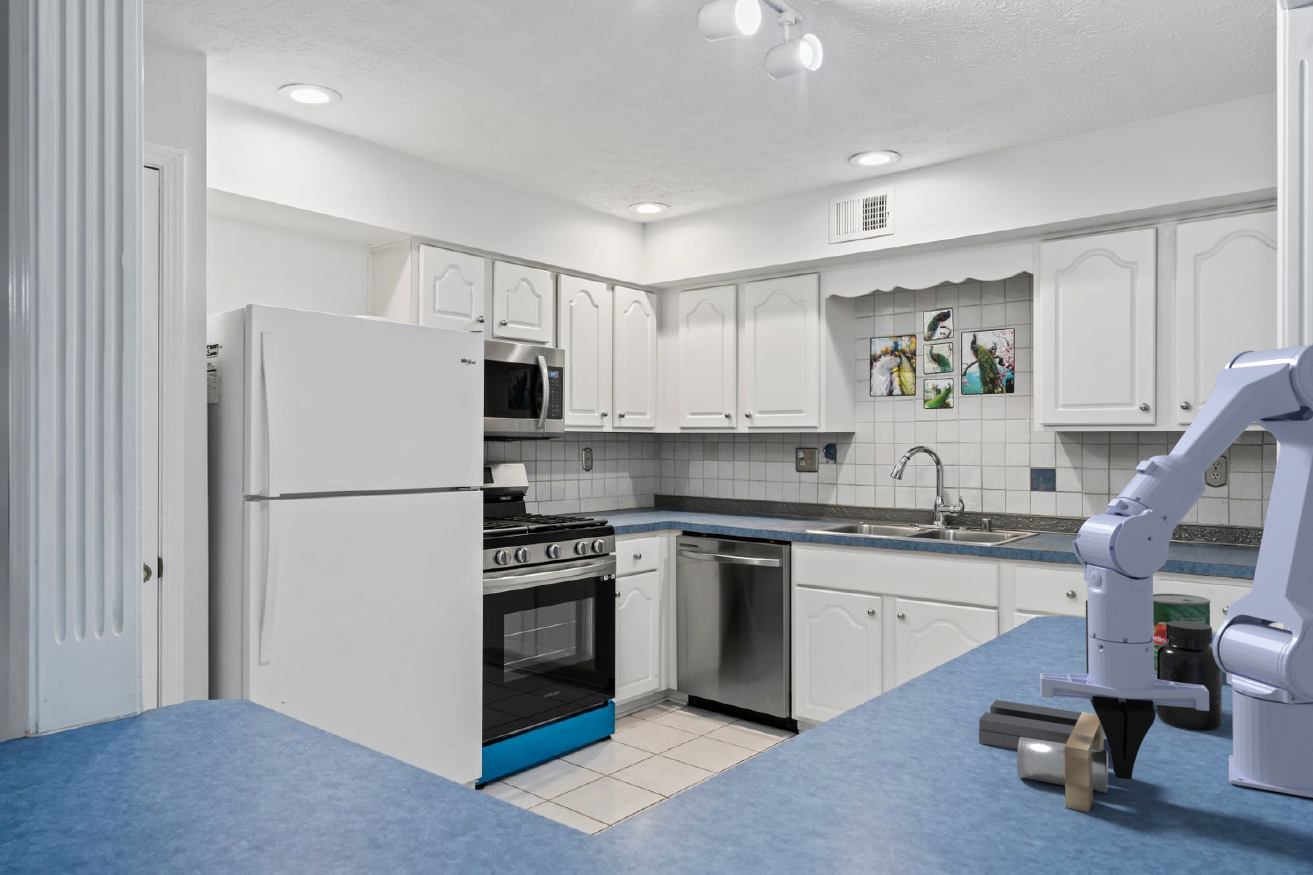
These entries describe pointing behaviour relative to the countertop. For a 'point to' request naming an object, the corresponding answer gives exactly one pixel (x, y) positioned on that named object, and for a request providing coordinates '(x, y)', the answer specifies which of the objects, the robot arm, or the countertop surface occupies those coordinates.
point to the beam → (1081, 761)
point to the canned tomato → (1176, 614)
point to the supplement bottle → (1190, 674)
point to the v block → (1025, 724)
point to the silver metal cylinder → (1056, 763)
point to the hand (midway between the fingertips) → (1122, 775)
